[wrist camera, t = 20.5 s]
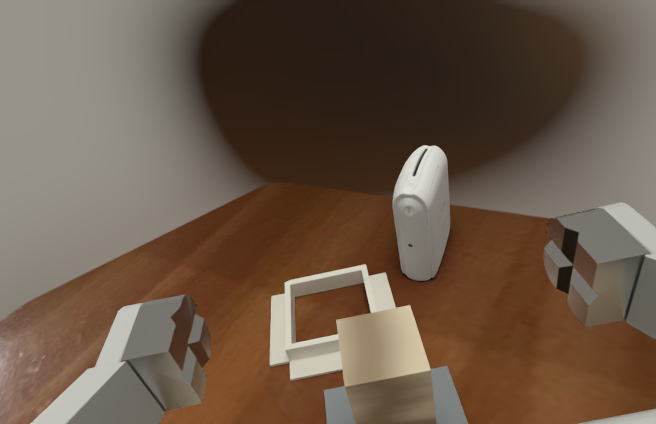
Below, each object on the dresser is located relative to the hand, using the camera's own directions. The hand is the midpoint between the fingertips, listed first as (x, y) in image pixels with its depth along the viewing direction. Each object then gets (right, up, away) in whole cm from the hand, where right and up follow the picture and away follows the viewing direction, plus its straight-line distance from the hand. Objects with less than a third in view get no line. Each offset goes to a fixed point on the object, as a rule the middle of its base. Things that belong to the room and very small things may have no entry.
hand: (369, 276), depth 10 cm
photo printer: (+11, -3, +41) cm, 43 cm away
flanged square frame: (0, -10, +36) cm, 37 cm away
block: (+5, -16, +24) cm, 29 cm away
